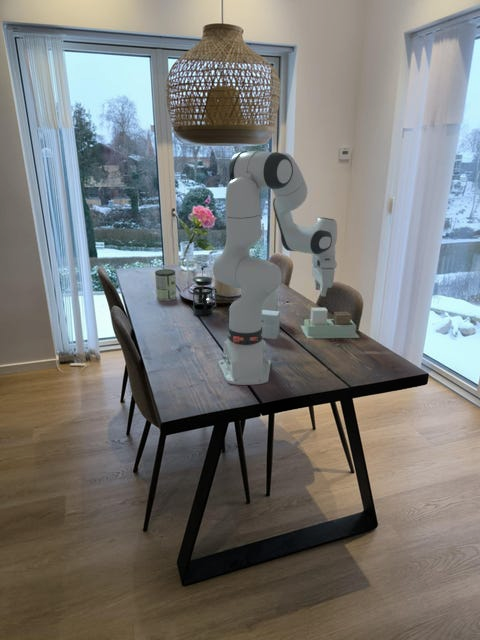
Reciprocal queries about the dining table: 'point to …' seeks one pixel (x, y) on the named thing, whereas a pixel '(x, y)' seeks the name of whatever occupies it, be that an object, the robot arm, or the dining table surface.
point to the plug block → (318, 316)
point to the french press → (203, 296)
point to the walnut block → (342, 318)
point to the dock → (329, 330)
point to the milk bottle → (271, 302)
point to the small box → (270, 324)
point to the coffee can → (165, 284)
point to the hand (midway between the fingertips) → (320, 292)
